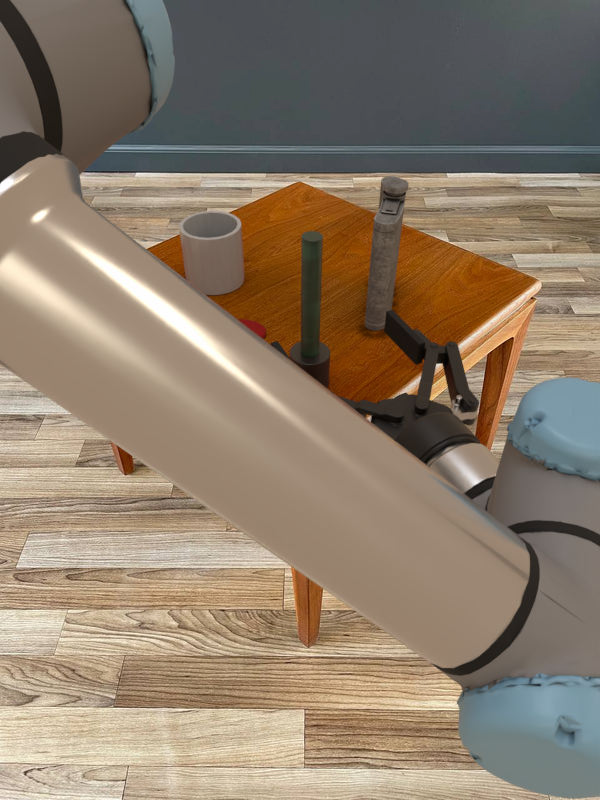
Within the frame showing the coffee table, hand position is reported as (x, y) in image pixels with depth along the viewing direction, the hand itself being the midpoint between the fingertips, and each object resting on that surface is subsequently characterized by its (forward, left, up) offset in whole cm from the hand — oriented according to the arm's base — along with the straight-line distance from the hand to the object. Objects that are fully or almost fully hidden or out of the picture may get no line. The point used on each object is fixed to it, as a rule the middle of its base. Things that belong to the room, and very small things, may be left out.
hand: (332, 335), depth 68 cm
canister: (-19, +28, -11) cm, 35 cm away
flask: (+6, +24, -11) cm, 27 cm away
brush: (-3, +5, -11) cm, 12 cm away
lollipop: (-17, +16, -11) cm, 26 cm away
